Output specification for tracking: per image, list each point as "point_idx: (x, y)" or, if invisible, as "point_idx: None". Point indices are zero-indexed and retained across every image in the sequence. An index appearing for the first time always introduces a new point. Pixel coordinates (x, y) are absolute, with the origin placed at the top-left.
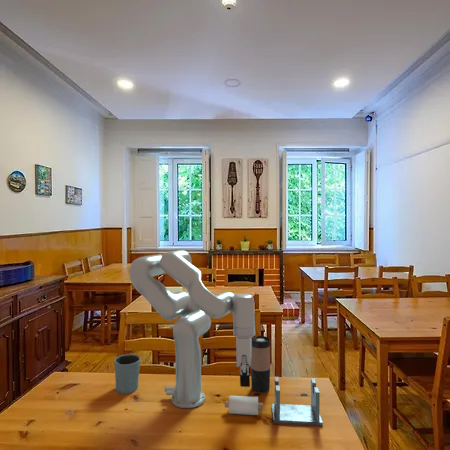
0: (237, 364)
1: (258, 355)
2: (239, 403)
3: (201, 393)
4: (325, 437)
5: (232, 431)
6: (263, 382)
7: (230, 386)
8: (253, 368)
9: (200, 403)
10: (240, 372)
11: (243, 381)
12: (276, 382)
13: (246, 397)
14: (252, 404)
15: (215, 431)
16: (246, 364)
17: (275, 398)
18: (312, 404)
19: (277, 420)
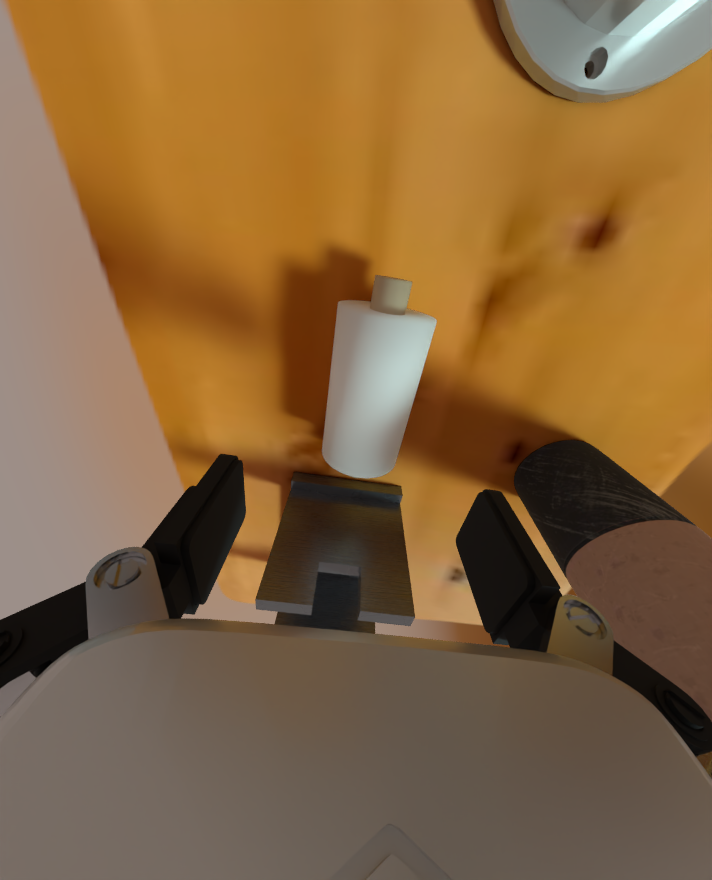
0: (3, 718)
1: (676, 667)
2: (338, 377)
3: (672, 39)
4: (241, 565)
5: (216, 306)
6: (534, 512)
7: (663, 333)
8: (627, 533)
9: (513, 38)
10: (88, 587)
11: (174, 513)
12: (359, 607)
13: (367, 426)
14: (329, 439)
15: (196, 199)
16: (497, 603)
17: (343, 537)
18: (343, 596)
19: (291, 490)
